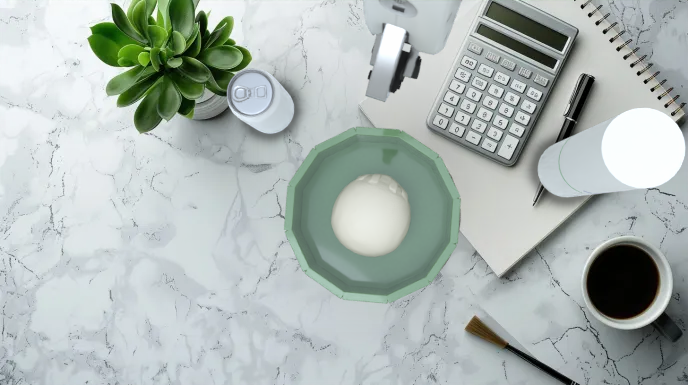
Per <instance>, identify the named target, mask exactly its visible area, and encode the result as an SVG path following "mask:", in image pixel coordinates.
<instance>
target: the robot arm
mask: <svg viewBox="0 0 688 385" xmlns="http://www.w3.org/2000/svg"><path fill="white" fill-rule="evenodd" d="M462 1H463V0H362V10H363V17H364V22H365V25H366V28H367V29H368V31H369V33H370V34H371V35H372V36H375V38H374V43H373V45H372V46H373V47H372V49H371V57H370V61H369V65H370V66H372V69H370V70H369V72H368V76H367V80H368V83H367V87H366V91H365V97H367V98H371V99H374V100H376V101H380V102H383V103H386V101H387V100H388V98H389V96H390V95H391V94H396V92H397V91H398V90H401V86H402V83H403V82H404V81H405V78H408V79H412V80H418V78H419V75H420V71H421V66H422V61H423V59H422V58H421V55H420V53H423V54H425V55H432V56H435V55H437V54H439V53H440V52H442V51H443V50H444V48H445V47H446V44H447V42H448V39H449V37H450V34H451V31H452V29H453V26H454V24H455V21H456V18H457V15H458V12H459V10H460V7H461V4H462ZM405 44H407V45H410V49H409V51H407V50H404V46H405Z"/></svg>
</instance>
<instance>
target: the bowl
mask: <svg viewBox="0 0 688 385" xmlns="http://www.w3.org/2000/svg"><path fill="white" fill-rule="evenodd" d="M448 171H449V169H448V168H447V165H446V164H445V162H444V160H443V157H442V155H441V156H440V154H439V153H438V152H437V151H434V150H433V149H432V148H430V147H429V146H427V145H426V144H424V143H422V142H421V141H419V140H418V139H417V138H415V137H413V136H412V135H410V134H409V133H407V132H406V131H405V130H401V129H400V128H385V127H369V126H355V127H351V128H348V129H346V130H344V131H342V132H341V133H338V134H337V135H334V136H333V137H331V138H328V139H326V140H324V141H322V142H320V143H318V144H316V145H315V146H314V147H312V148H311V150H310V151H309V152H308V154H307V155H306V157H305V159H303V162H302V163H301V164H300V166H299V168H298V169H297V170H296V172H295V173H294V175H293V176H292V177H291V179H290V180H289V182H288V185H287V186H286V197H285V210H284V211H285V212H284V224H283V230H284V235H285V237H286V239H287V241H288V243H289V245H290V247H291V249H292V251H293V254H294V255H295V256H294V257H295V258H296V260H297V262H298V264H299V267H300V268H301V270H302V272H304V274H305V275H306V276H307V277H309V278H310V279H312V280H313V281H315V282H316V283H317V284H319V285H320V286H321V287H323V288H324V289H326V290H327V291H329V292H330V293H331V294H333V295H334V296H335V297H337V298H338V299H342V300H343V301H353V302H363V303H364V302H365V303H374V304H375V303H376V304H385V305H386V304H387V305H388V304H391V303H393V302H396V301H398V300H400V299H402V298H404V297H406V296H409V295H410V293H411V294H413V293H414V292H417V291H419V290H421V289H424V288H425V287H428V286H429V285H431V283H433V282H434V280H435V279H436V277H437V276H438V274H439V273H440V272H441V271H442V269H443V268H444V267H445V266H444V264H445V263H446V261H447V260H448V261H449V259H450V258H451V256H452V254H453V252H454V251H455V250H456V248H457V246H458V245H457V244H459V235H460V229H459V220H460V209H461V205H462V199H461V194H460V192H459V190H458V188H457V186H456V183H455V181H454V179H453V177H452V178H451V176H452V175H451V173H450V171H449V172H448ZM449 173H450V174H449ZM365 174H386V175H389V176H391V177H392V178H393V179H394V180H396V181H397V182H398V184H399V185H400V186H402V187H403V189H404V190H405V191H406V192H407V194H408V201H409V204H410V210H411V220H410V225H409V229H408V232H407V234H406V236H405V238H404V239H403V241H402V242H401V244H400V245H399V246H398V247H397V249H395V250H394V251H393V252H391V253H389V254H386V255H383V256H378V257H368V256H363V255H359V254H356V253H354V252H352V251H351V250H349V249H347V248H346V247H345V246H344V245H342V244H341V243H340V241H339V240H338V238H337V237H336V235H335V233H334V231H333V228H332V225H331V215H332V210H333V206H334V203H335V201H336V199H337V197H338V195H339V194H340V192H341V191H342V190H343V189H344V188H345V187H346V186H347V185H348V184H349V183H350V182H352V181H354V180H356V179H357V178H358V177H359V176H361V175H365ZM450 175H451V176H450ZM452 179H453V180H452ZM453 181H454V182H453ZM454 183H455V184H454ZM458 234H459V235H458ZM450 255H451V256H450ZM449 257H450V258H449ZM448 258H449V259H448ZM448 261H447V262H448ZM446 264H447V263H446ZM446 264H445V265H446ZM443 266H444V267H443ZM442 267H443V268H442ZM441 268H442V269H441ZM440 270H441V271H440ZM439 271H440V272H439Z"/></svg>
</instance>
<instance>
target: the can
mask: <svg viewBox="0 0 688 385" xmlns="http://www.w3.org/2000/svg"><path fill="white" fill-rule="evenodd" d="M226 97H227V98H226V100H227V105H228V107H229V109H230V110H231V112H232V114H234V116H236V117H237V118H238V119H239V120H241V121H242V122H244V123H245V124H247V125H248V126H250V127H252V128H253V129H255V130H257V131H258V132H261V133H263V134H269V135H270V134H271V135H272V134H277V133H279V132H281V131H284V130H285V129H286V128H287V127H288V126H289V125H290V124H291V122H292V121H293V119H294V115H295V104H294V101H293V98H292V96H291V94H290V93H289V92H288V91H287V90H286V89H285V87H284V86H283V85H282V84H281V83H280V82H279V80H277V78H276V77H275V76H274V75H272V74H271V73H270V72H268V71H267V70H264V69H261V68H255V67H254V68H246V69H242V70H240V71H238V72H237V73H235V74H234V75H233V76H232V78H231V79H230V81H229V82H228V85H227V88H226Z"/></svg>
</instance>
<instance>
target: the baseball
mask: <svg viewBox="0 0 688 385" xmlns="http://www.w3.org/2000/svg"><path fill="white" fill-rule="evenodd" d="M410 220H411V210H410V204H409V201H408V194H407V192H406V191H405V190H404V189H403V187H402V186H400V185H399V184H398V182H397V181H396V180H394V179H393V178H392V177H391V176H389V175H386V174H365V175H361V176H359V177H358V178H357V179H356V180H354V181H352V182H350V183H349V184H348V185H347V186H346V187H345V188H344V189H343V190H342V191H341V192H340V194H339V195H338V197H337V199H336V201H335V203H334V206H333V210H332V215H331V225H332V228H333V231H334V233H335V235H336V237H337V238H338V240H339V241H340V243H341V244H342V245H344V246H345V247H346V248H347V249H349V250H351V251H352V252H354V253H356V254H359V255H363V256H368V257H378V256H383V255H386V254H389V253H391V252H393V251H394V250H395V249H397V247H398V246H399V245H400V244H401V242H402V241H403V239H404V238H405V236H406V234H407V232H408V229H409V225H410Z"/></svg>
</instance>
